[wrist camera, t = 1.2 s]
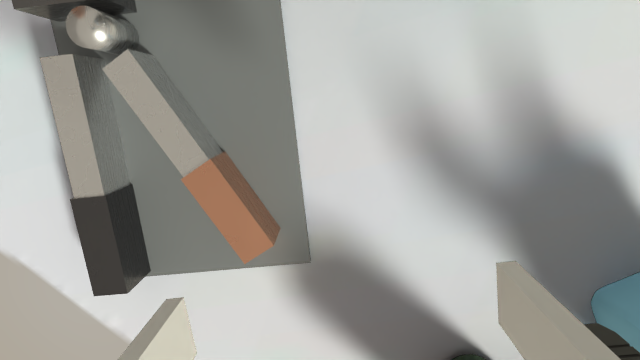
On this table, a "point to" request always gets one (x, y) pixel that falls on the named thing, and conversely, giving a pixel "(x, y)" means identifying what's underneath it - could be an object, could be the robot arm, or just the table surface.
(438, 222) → the table surface
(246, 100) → the mat
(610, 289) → the vase
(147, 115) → the tongs arm
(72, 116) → the tongs fixed
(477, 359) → the coffee jar
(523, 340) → the robot arm
